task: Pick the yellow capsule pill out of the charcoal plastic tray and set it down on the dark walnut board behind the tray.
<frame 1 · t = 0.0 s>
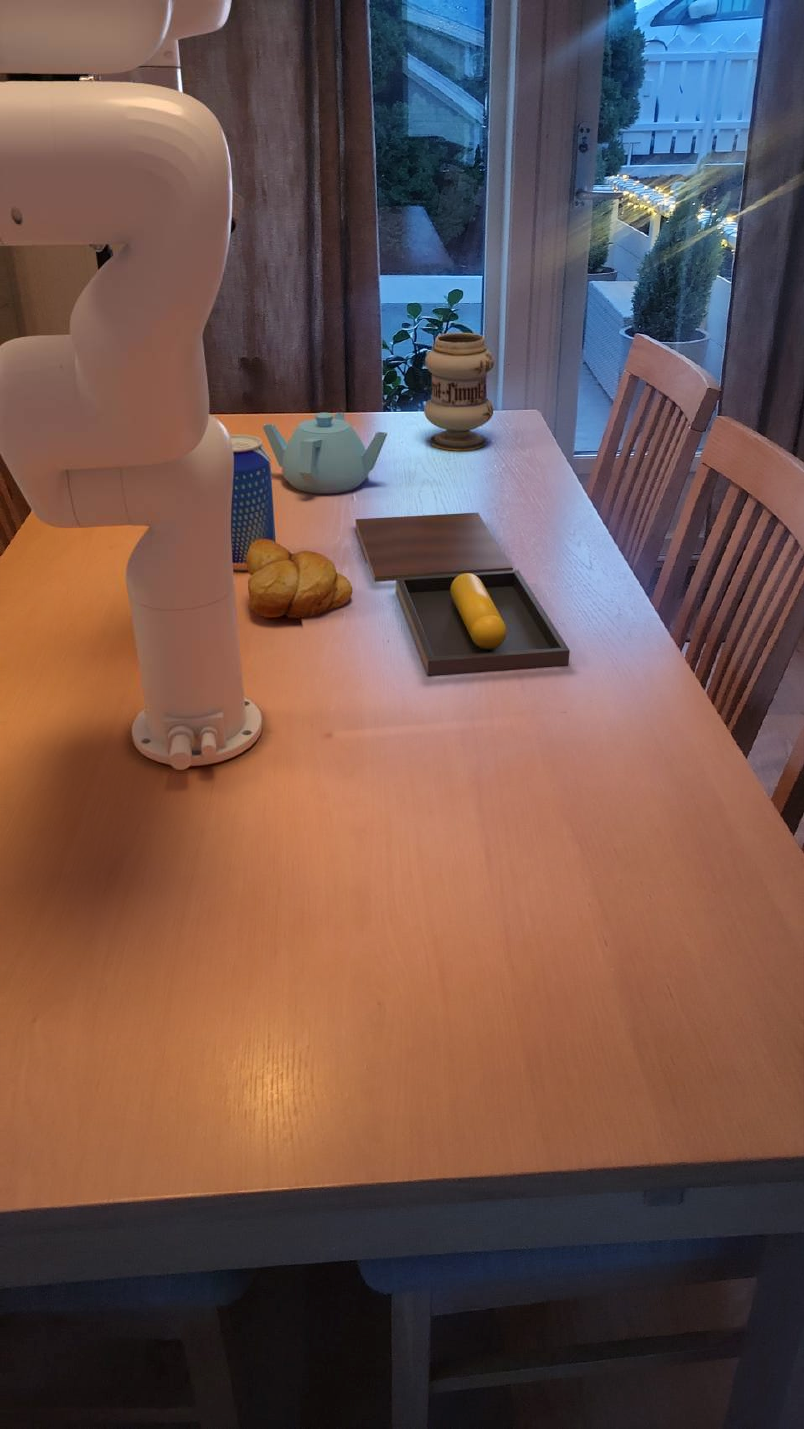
hand: (162, 292, 102), 37 cm above the table, tool pointing down, fingers open, 9 cm apart
board: (430, 552, 140), on the table
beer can: (245, 561, 137), on the table
bread roll: (299, 610, 125), on the table
teapot: (326, 482, 165), on the table
tray: (476, 631, 120), on the table
apothecary jar: (457, 443, 182), on the table
yellow capsule pill: (476, 625, 120), point 1 cm above the table, touching tray
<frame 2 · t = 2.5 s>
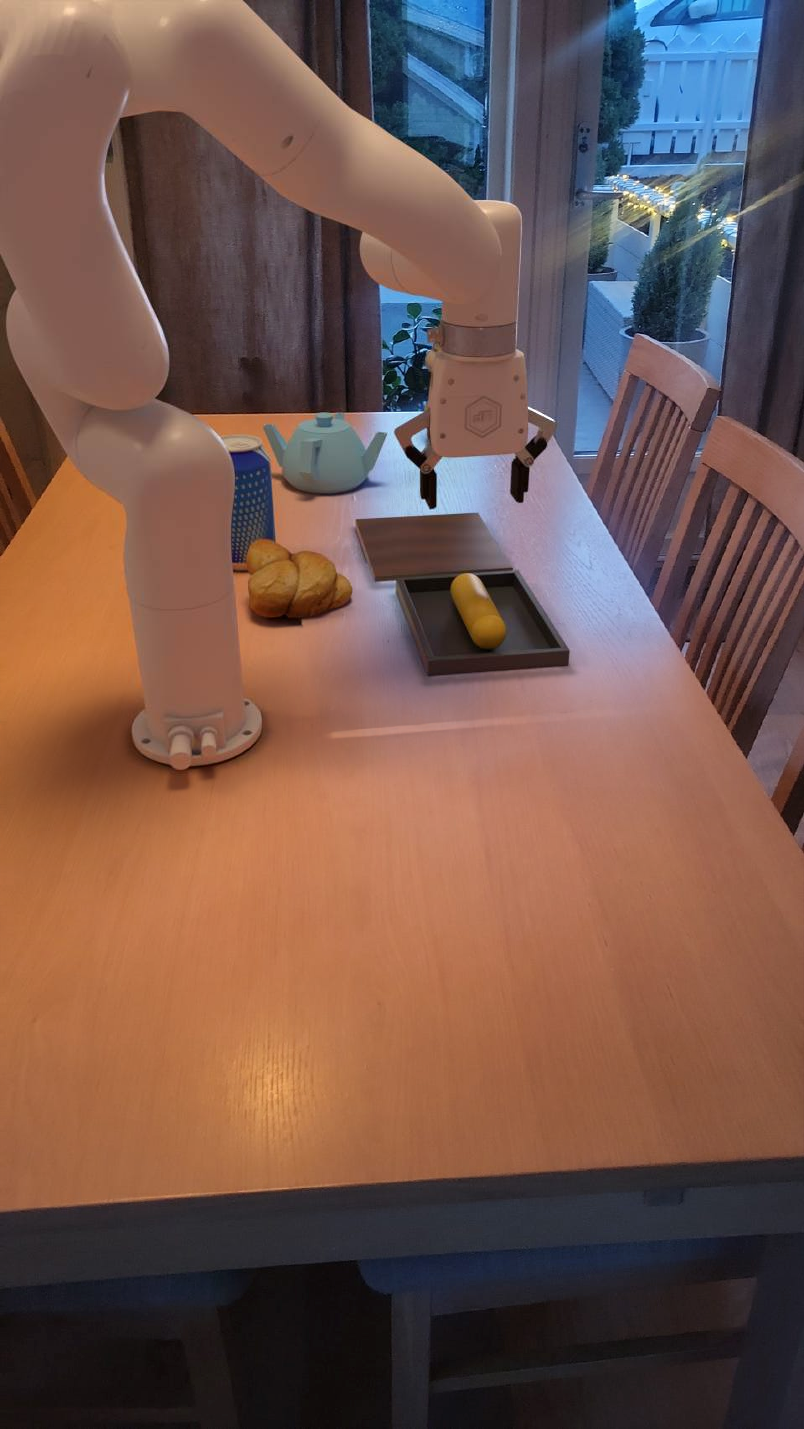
hand: (473, 501, 112), 16 cm above the table, tool pointing down, fingers open, 9 cm apart
nothing on the table moved.
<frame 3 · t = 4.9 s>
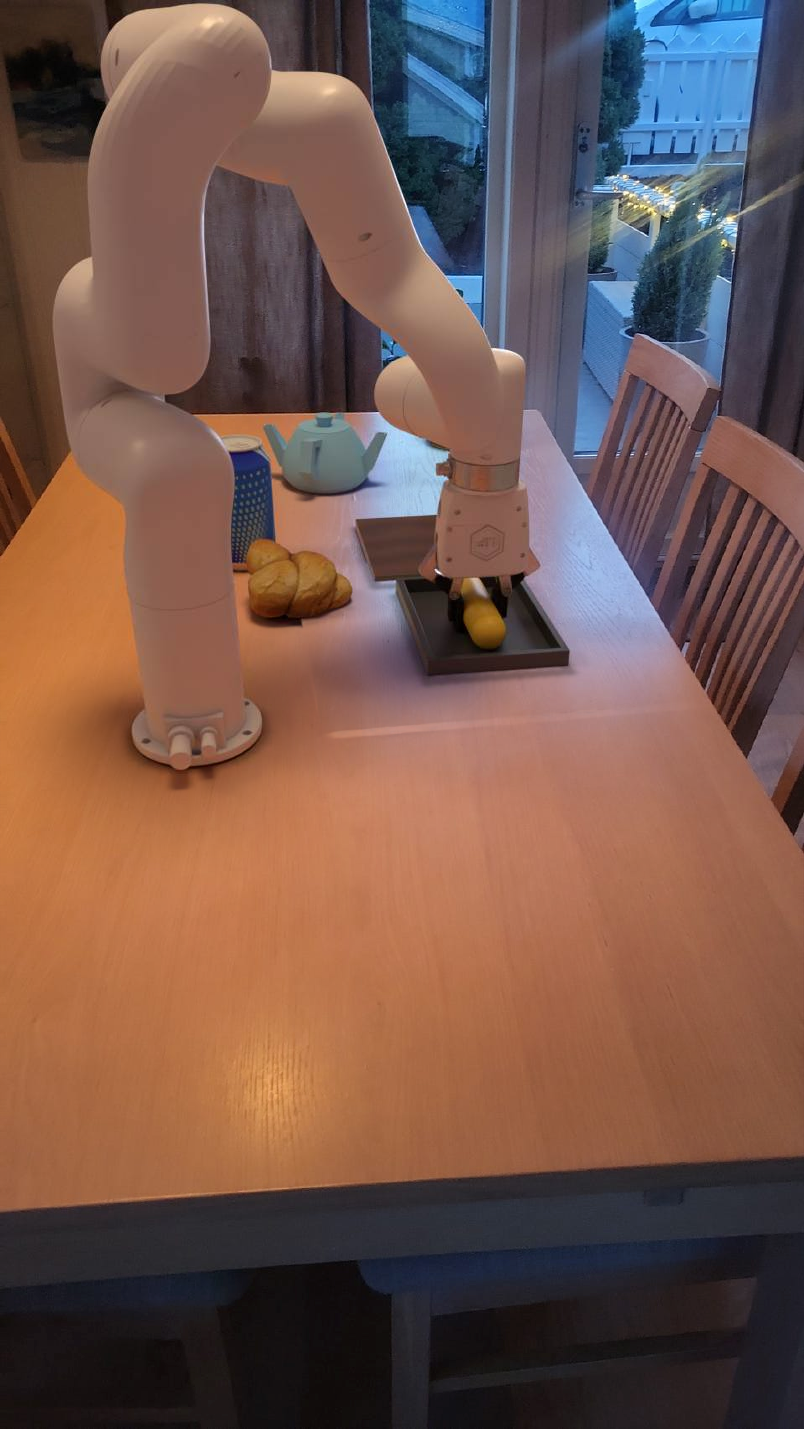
hand: (476, 623, 120), 1 cm above the table, tool pointing down, fingers closed on yellow capsule pill, 4 cm apart
yellow capsule pill: (476, 625, 120), point 1 cm above the table, touching gripper, tray
everything else where it was.
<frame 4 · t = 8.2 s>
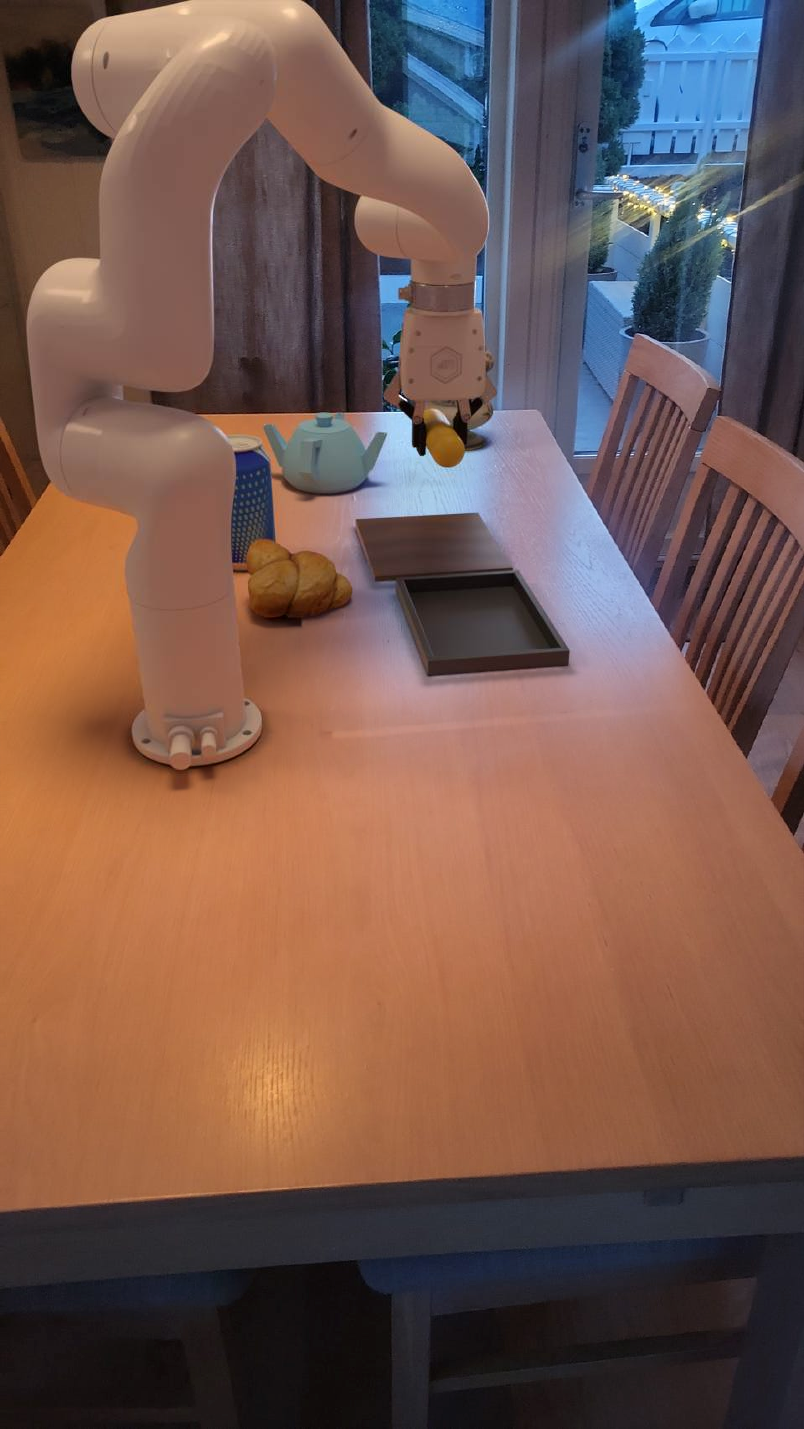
hand: (439, 450, 129), 15 cm above the table, tool pointing down, fingers closed on yellow capsule pill, 4 cm apart
yellow capsule pill: (439, 453, 129), point 15 cm above the table, touching gripper
everything else where it was.
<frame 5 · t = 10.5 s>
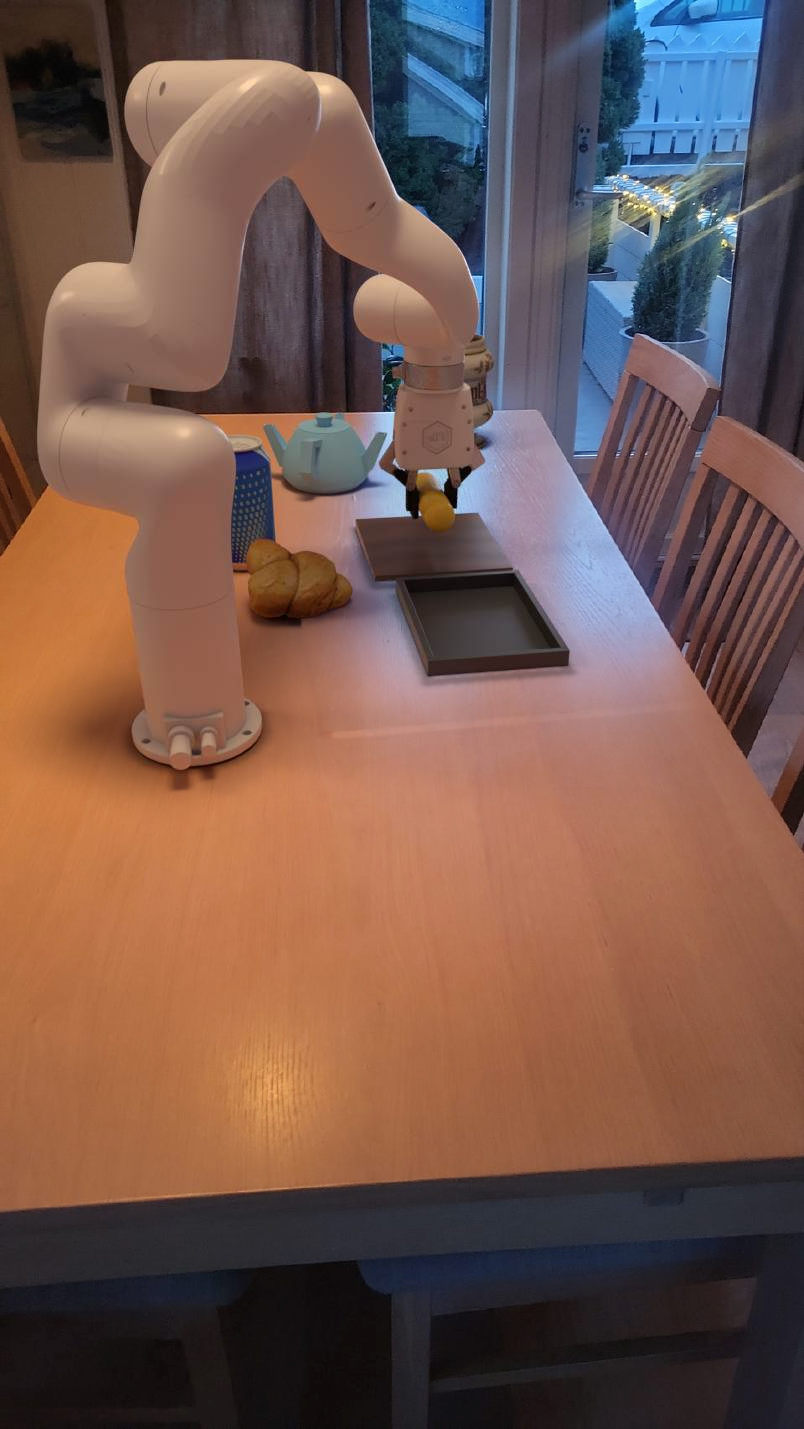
hand: (431, 513, 137), 6 cm above the table, tool pointing down, fingers closed on yellow capsule pill, 4 cm apart
yellow capsule pill: (431, 515, 137), point 5 cm above the table, touching gripper
everything else where it was.
when the fingers open (2 cm above the table, at t = 11.9 s): yellow capsule pill stays where it is, resting on board.
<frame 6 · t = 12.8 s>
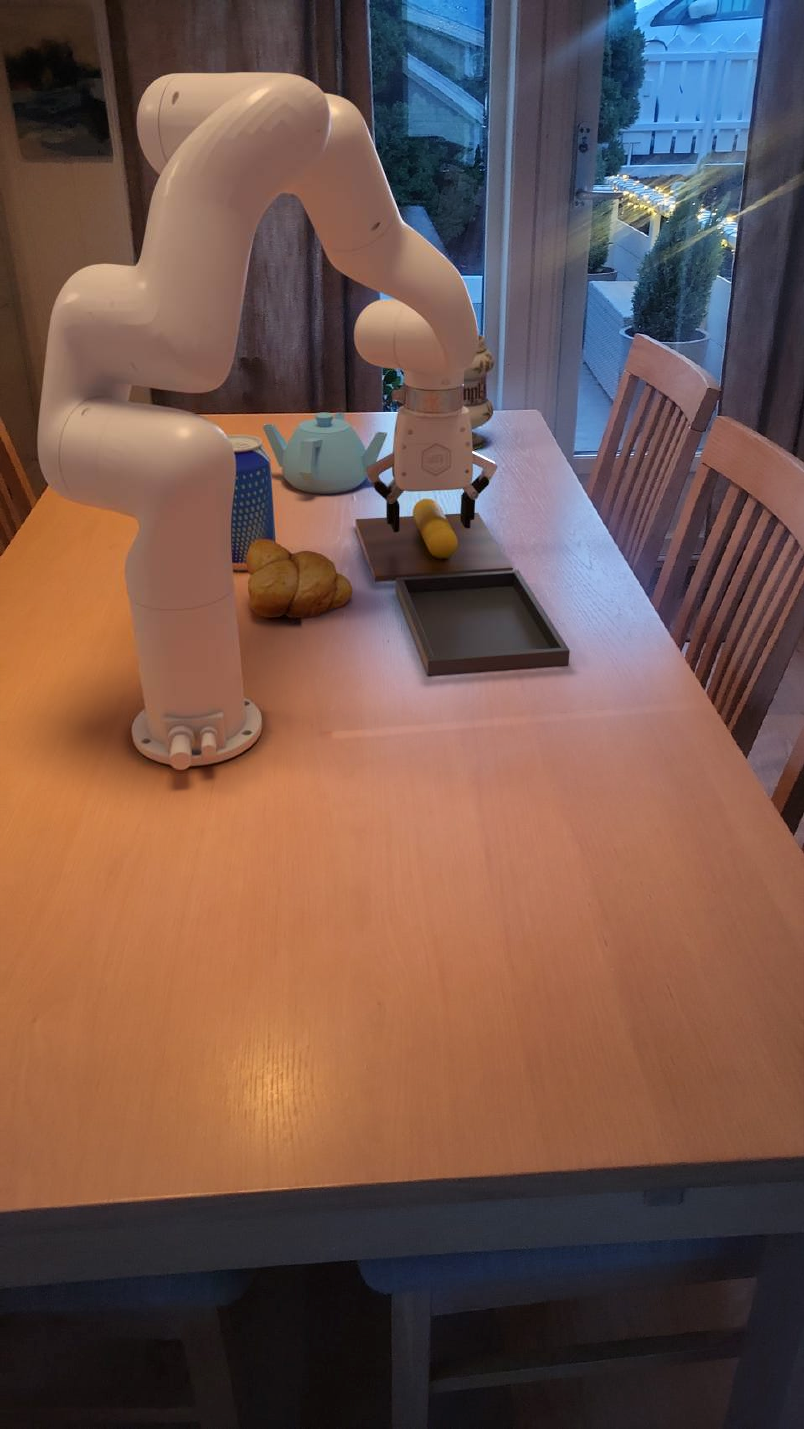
hand: (430, 526, 138), 4 cm above the table, tool pointing down, fingers open, 9 cm apart
yellow capsule pill: (430, 541, 139), point 2 cm above the table, tilted 15°, touching board
everything else where it was.
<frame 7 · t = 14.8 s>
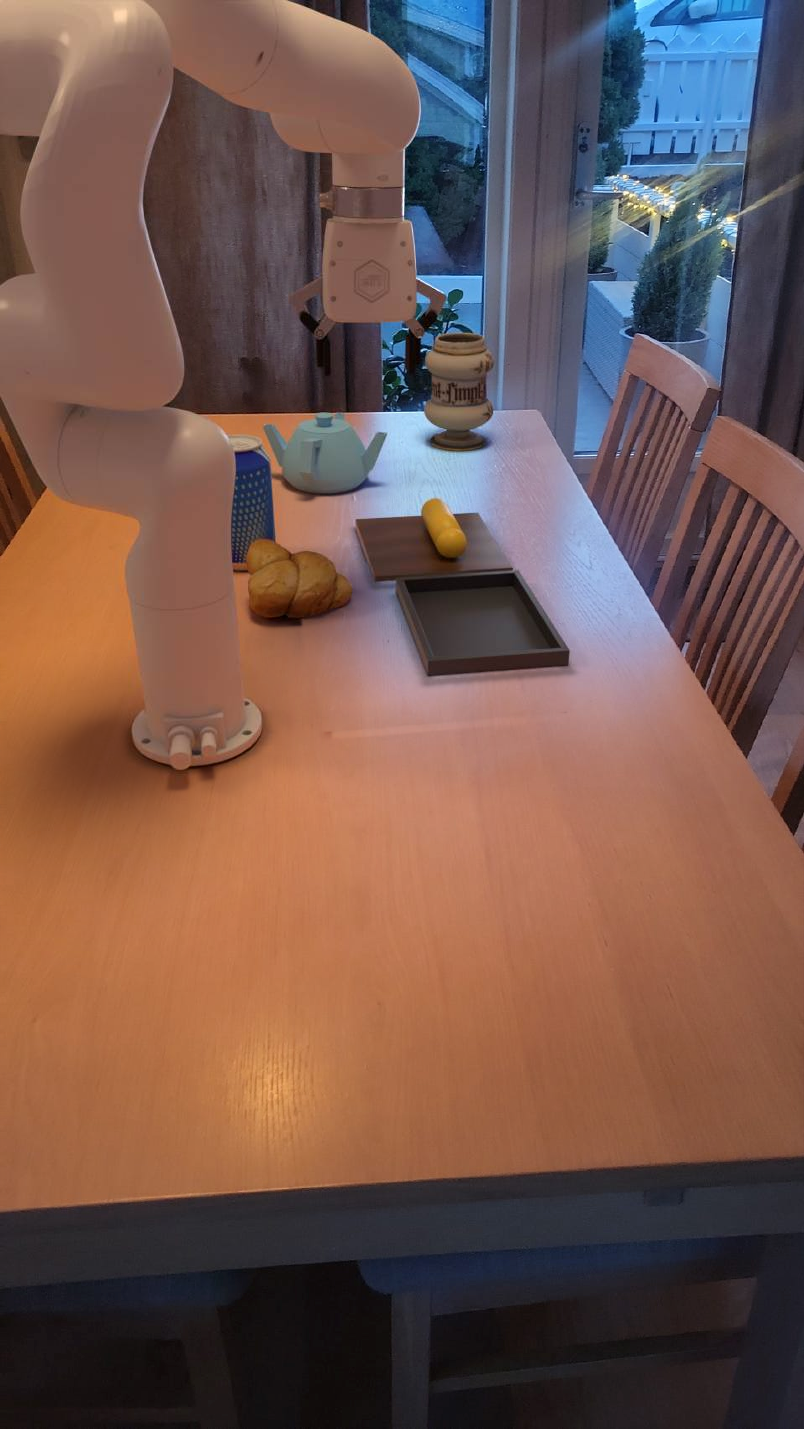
hand: (368, 373, 117), 26 cm above the table, tool pointing down, fingers open, 9 cm apart
yellow capsule pill: (431, 537, 139), point 2 cm above the table, tilted 49°, touching board
everything else where it was.
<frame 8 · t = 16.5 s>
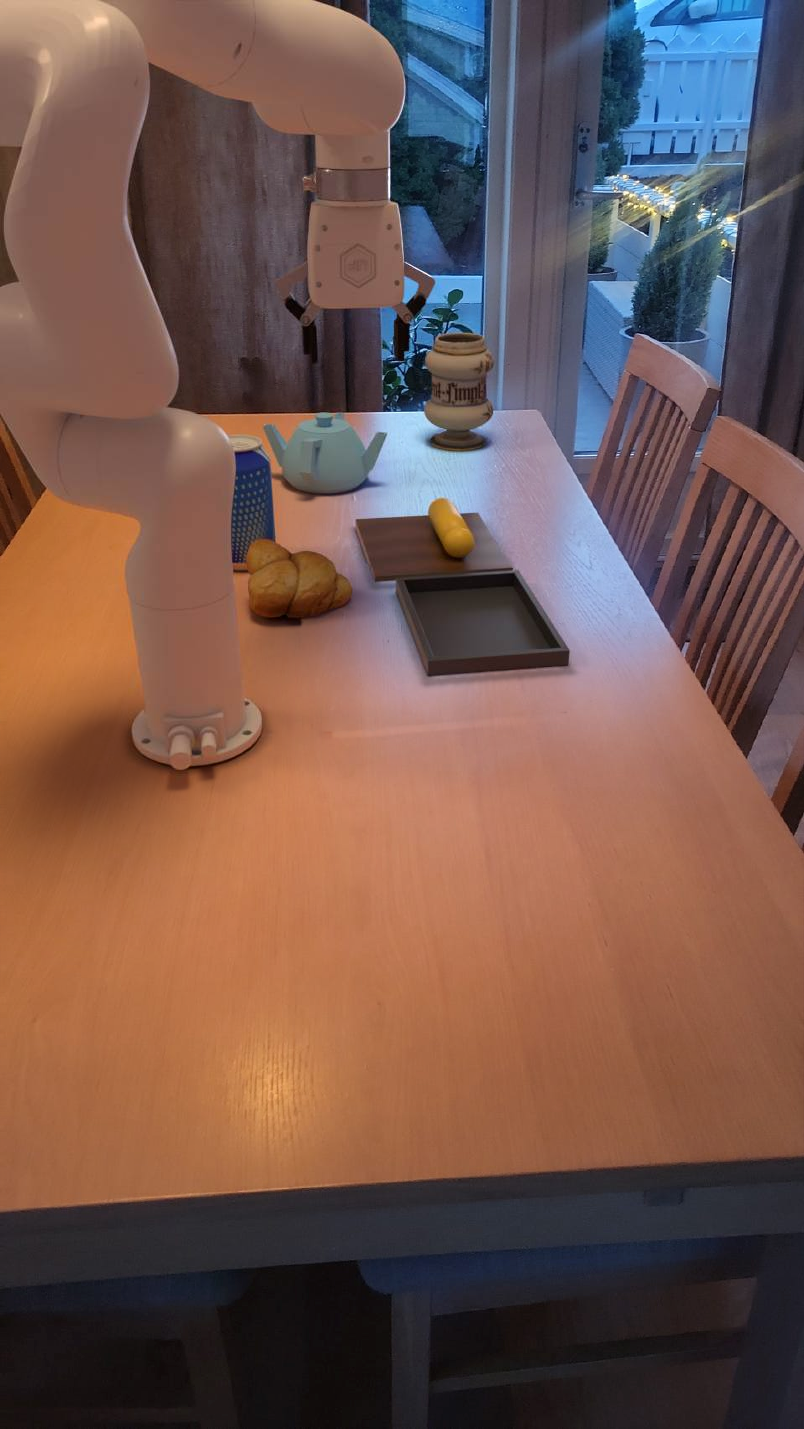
hand: (356, 359, 114), 28 cm above the table, tool pointing down, fingers open, 9 cm apart
yellow capsule pill: (436, 530, 139), point 3 cm above the table, tilted 78°, touching board
everything else where it was.
at the end: yellow capsule pill inside the target area on the board (0.8 cm from its centre), point 3.1 cm above the board's base; yellow capsule pill moved 24.1 cm from its start; the gripper is holding nothing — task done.
